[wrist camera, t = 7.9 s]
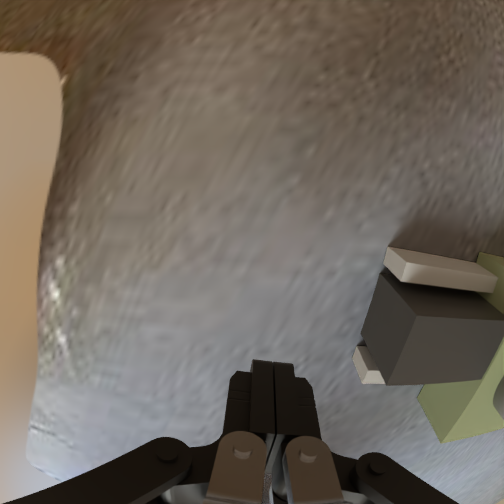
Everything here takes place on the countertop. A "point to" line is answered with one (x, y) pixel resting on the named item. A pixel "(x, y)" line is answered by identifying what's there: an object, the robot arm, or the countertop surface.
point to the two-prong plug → (456, 393)
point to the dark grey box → (430, 333)
